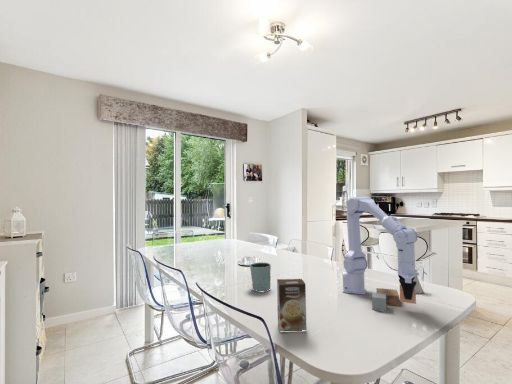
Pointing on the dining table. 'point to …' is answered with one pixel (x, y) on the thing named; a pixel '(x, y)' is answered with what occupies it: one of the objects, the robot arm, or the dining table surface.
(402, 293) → the terracotta block
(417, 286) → the flask
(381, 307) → the slate grey block
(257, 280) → the grey green cup
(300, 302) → the coffee box
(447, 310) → the dining table surface
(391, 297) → the walnut base block
